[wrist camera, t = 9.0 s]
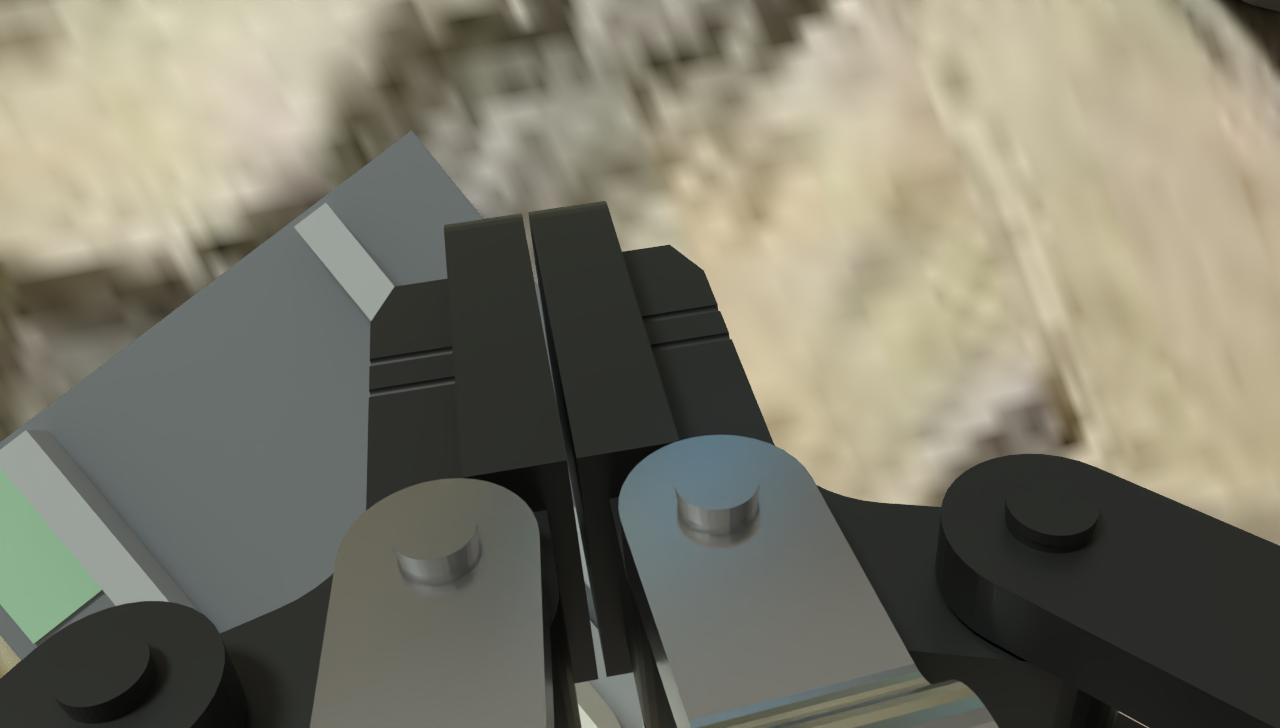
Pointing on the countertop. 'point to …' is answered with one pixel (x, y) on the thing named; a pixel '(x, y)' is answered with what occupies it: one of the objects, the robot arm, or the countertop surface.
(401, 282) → the breaker panel
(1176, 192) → the countertop surface
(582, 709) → the lever
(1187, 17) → the countertop surface
